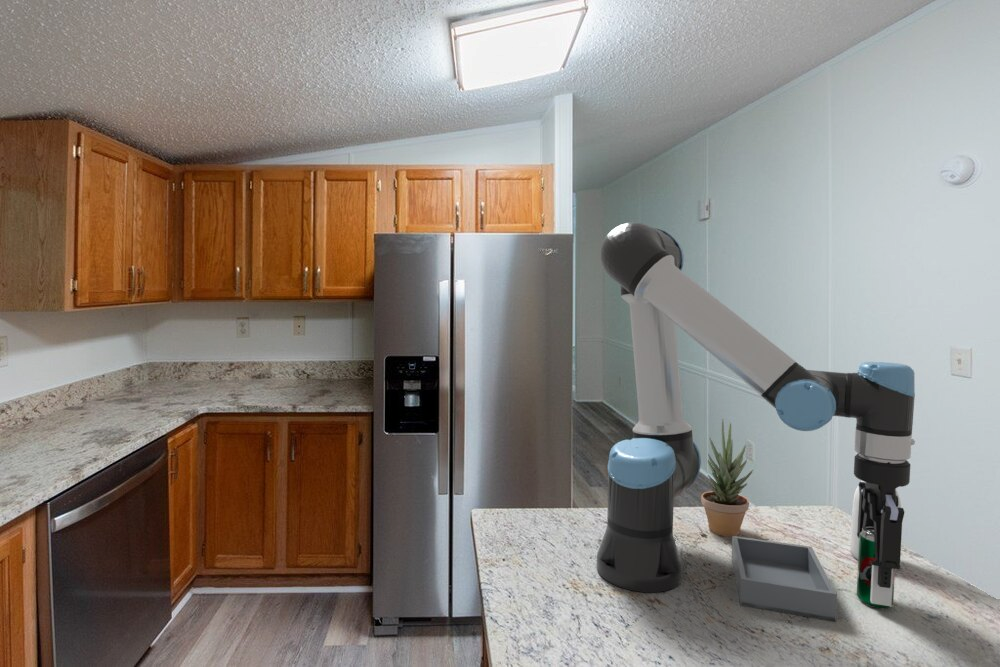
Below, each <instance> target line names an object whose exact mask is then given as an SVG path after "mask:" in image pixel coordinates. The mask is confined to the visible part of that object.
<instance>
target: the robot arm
mask: <svg viewBox="0 0 1000 667" xmlns="http://www.w3.org/2000/svg"><path fill="white" fill-rule="evenodd" d="M684 258H685V257H684V253H683V249H682V247H681V244H680V243H679V242H678V241H677V239H676V238H675V237H673V235H672V234H670V233H669V232H667V231H666V230H663V229H660V228H655V227H652V226H649V225H647V224H643V223H641V222H636V221H635V222H626V223H623V224H622V223H621V224H619V225H617V226H616V227H614V228H613V229H612V230H610V231H609V232H608V233H607V235H606V236H605V237H604V239H603V241H602V244H601V247H600V262H601V265H602V267H603V269H604V271H605V273H606V274H607V275H608V276H609V278H611V279H612V280H613V281H615V283H617V284H618V285H620V296H621V299H623V300H624V301H625V302H626V303H628V306H629V315H630V324H631V337H632V339H631V340H632V349H633V350H632V351H633V359H634V372H635V374H634V375H635V386H636V396H637V408H638V422H637V423H636V424H635V425H634V426H633V428H632V438H631V439H624V440H620V441H619V442H616V443H615V444H614V445H613V446H612V447H611V449H610V451H609V456H608V462H607V512H606V513H607V517H606V519H607V521H606V524H607V525H606V529H605V532H604V535H603V537H602V539H601V543H600V546H599V548H598V551H597V554H596V571H597V573H598V574H599V575H600V576H601V577H602V578H603V579H604V580H605V581H607V582H609V583H610V584H612V585H614V586H617V587H619V588H621V589H625V590H629V591H634V592H641V593H660V592H666V591H669V590H672V589H674V588H675V587H678V585H679V584H680V583H681V582H682V574H683V570H682V569H683V567H682V566H683V564H682V561H681V558H680V554H679V551H678V546H677V544H676V540H675V537H674V532H673V531H674V507H675V506H674V504H675V499H676V498H678V497H679V496H680V495H681V494H683V493H684V492H685V491H686V490H687V489H689V488H690V487H691V486H692V485H693V484H694V483H695V481H696V480H697V477H698V476H699V472H700V471H701V464H702V457H701V452H700V450H699V448H698V445H697V444H696V442H695V441H694V437H693V427H692V425H690V424H689V423H688V422H687V421H686V420H685V419H684V415H683V414H684V413H683V404H682V403H683V402H682V401H683V400H682V392H681V390H682V389H681V379H680V368H679V367H680V366H679V355H678V344H677V343H678V341H677V331H676V326H678V328H680V329H681V330H682V331H684V332H685V334H687V335H689V336H690V337H691V339H693V340H694V341H696V342H697V343H698V344H699V345H701V347H703V348H704V350H706V351H708V352H709V353H710V354H711V355H712V356H713V357H715V358H716V359H717V360H718V361H719V362H720V363H722V364H723V365H724V366H725V367H726V368H727V369H729V370H730V371H731V372H732V373H733V374H735V375H736V376H737V377H738V378H739V379H741V380H742V381H743V382H744V383H745V384H747V385H748V386H749V387H750V388H751V389H752V390H753V391H754V392H756V393H757V394H758V395H759V396H761V397H762V398H763V399H764V400H765V401H766V402H767V403H769V404H770V405H771V406H772V408H774V409H775V411H776V414H777V415H778V417H779V418H780V420H781V421H782V422H783V423H784V424H785V425H786V426H788V427H790V428H791V429H794V430H796V431H801V432H812V431H815V430H819V429H820V428H823V427H824V426H826V425H827V424H828V423H829V422H831V420H833V417H839V418H840V417H843V418H848V419H850V418H851V419H852V418H853V419H854V418H855V419H856V424H855V432H854V433H855V434H854V451H855V452H856V453H857V454H856V455H854V462H853V463H854V464H853V475H854V477H856V478H857V480H860V481H859V482H858V485H859V512H858V530H857V536H858V538H859V534H860V533H861V532H862V531H863V530H862V528H863V527H867V526H871V527H874V546H875V561H871V560H870V564H871V565H872V576H871V595H870V601H871V603H873V604H879V605H885V606H891V604H892V586H893V569H895V570H900V569H901V554H902V533H903V520H904V517H905V510H904V507H901V508H899V507H898V497H897V496H896V491H897V488H900V487H901V488H902V487H907V486H908V485H909V484H910V480H911V479H910V477H911V463H910V462H909V461H908V460H909V459H911V457H912V456H911V454H912V446H914V445H915V443H916V440H914V439H913V438H912V436H913V435H912V434H913V425H914V409H915V407H914V406H915V396H916V394H915V393H916V392H915V390H916V389H915V371H914V369H912V367H911V366H910V365H907V364H903V363H895V362H884V361H883V362H882V361H881V362H880V361H879V362H878V361H864V362H862V363H860V364H859V366H858V369H857V372H847V373H846V372H837V371H836V372H835V371H825V370H811V369H806V368H804V367H803V366H802V365H801V364H800V363H798V362H797V361H796V360H795V359H793V358H792V357H791V356H790V355H789V354H787V353H786V352H784V350H781V348H780V347H779V346H777V345H776V344H775V343H773V342H772V341H771V340H769V339H768V338H767V337H766V336H764V334H762V333H760V332H759V331H758V330H757V329H755V328H754V327H753V326H752V325H751V324H749V322H747V321H745V319H743V318H742V317H740V316H739V315H738V314H737V313H736V312H734V311H733V310H731V309H730V308H729V307H728V306H726V305H725V304H724V303H723V302H721V301H720V300H719V299H717V298H716V297H715V296H714V295H713V294H712V293H710V292H709V291H708V290H706V289H705V288H704V287H702V286H701V285H700V284H699V283H698V282H696V281H695V280H693V279H692V278H691V277H690V276H689V275H687V274H686V273H685V272H684V271H682V270H683V267H684V261H685V260H684ZM861 480H862V481H864V482H861ZM895 490H896V491H895ZM891 607H892V606H891Z"/></svg>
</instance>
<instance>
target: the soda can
mask: <svg viewBox="0 0 1000 667" xmlns="http://www.w3.org/2000/svg"><path fill="white" fill-rule="evenodd" d="M862 530H863V531H862V532H861V533H860V534H859V554H858V560H857V576H856V578H857V579H856V596H857V598H858V600H860V601H861V602H862V603H863V604H865V605H867V606H869V607H871V608H876V609H883V610H885V609H889V608H891V607H892V606H893V605H894V600H895V599H894V597H895V579H896V578H895V577H896V569H893V586H892V604H891V606H885V605H879V604H873V603H871V601H870V595H871V576H872V565H871V564H870V560H871V561H875V546H874V527H871V526H867V527H863V528H862Z"/></svg>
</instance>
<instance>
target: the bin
mask: <svg viewBox="0 0 1000 667" xmlns="http://www.w3.org/2000/svg"><path fill="white" fill-rule="evenodd" d="M730 558H731V562H732V568H733V569H732V570H733V573H734V579H735V585H736V589H737V595H738V600H739V604H740V606H741V607H742V606H744V607H749V608H754V609H760V610H765V611H770V612H771V611H773V612H776V613H784V614H789V615H795V616H800V617H806V618H812V619H818V620H823V621H828V622H836V618H837V617H836V616H837V596H838V595H837V592H836V590H835V588H834V586H833V585H832V583H831V581H830V579H829V576H828V575H827V573H826V571H825V569H824V567H823V566H822V564H821V561H820V559H818V556H817V554H816V552H815V550H814V549H813V547H812V546H811V545H810V546H809V545H803V544H802V545H801V544H795V543H789V542H787V543H786V542H782V541H781V542H780V541H772V540H766V539H765V540H764V539H758V538H751V537H744V536H743V537H742V536H738V535H737V536H731V556H730Z"/></svg>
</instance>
